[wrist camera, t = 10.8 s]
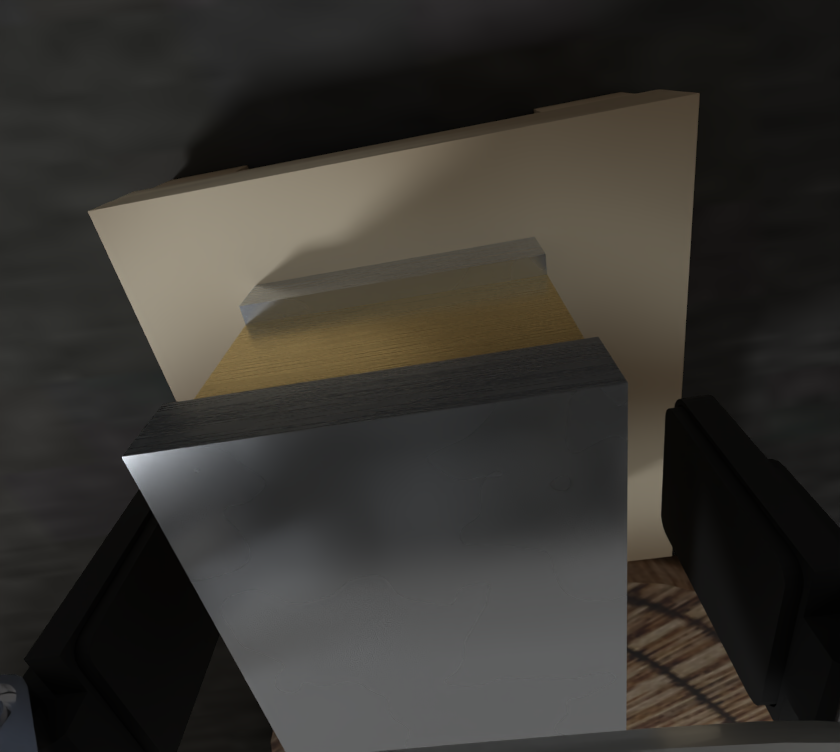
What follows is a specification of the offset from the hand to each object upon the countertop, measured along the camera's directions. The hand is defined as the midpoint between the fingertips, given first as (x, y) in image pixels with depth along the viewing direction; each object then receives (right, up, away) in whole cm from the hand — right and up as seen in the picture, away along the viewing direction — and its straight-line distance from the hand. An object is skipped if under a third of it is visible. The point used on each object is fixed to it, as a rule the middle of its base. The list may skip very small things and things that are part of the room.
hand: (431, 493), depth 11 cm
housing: (0, +1, +3) cm, 3 cm away
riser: (0, +3, +5) cm, 6 cm away
